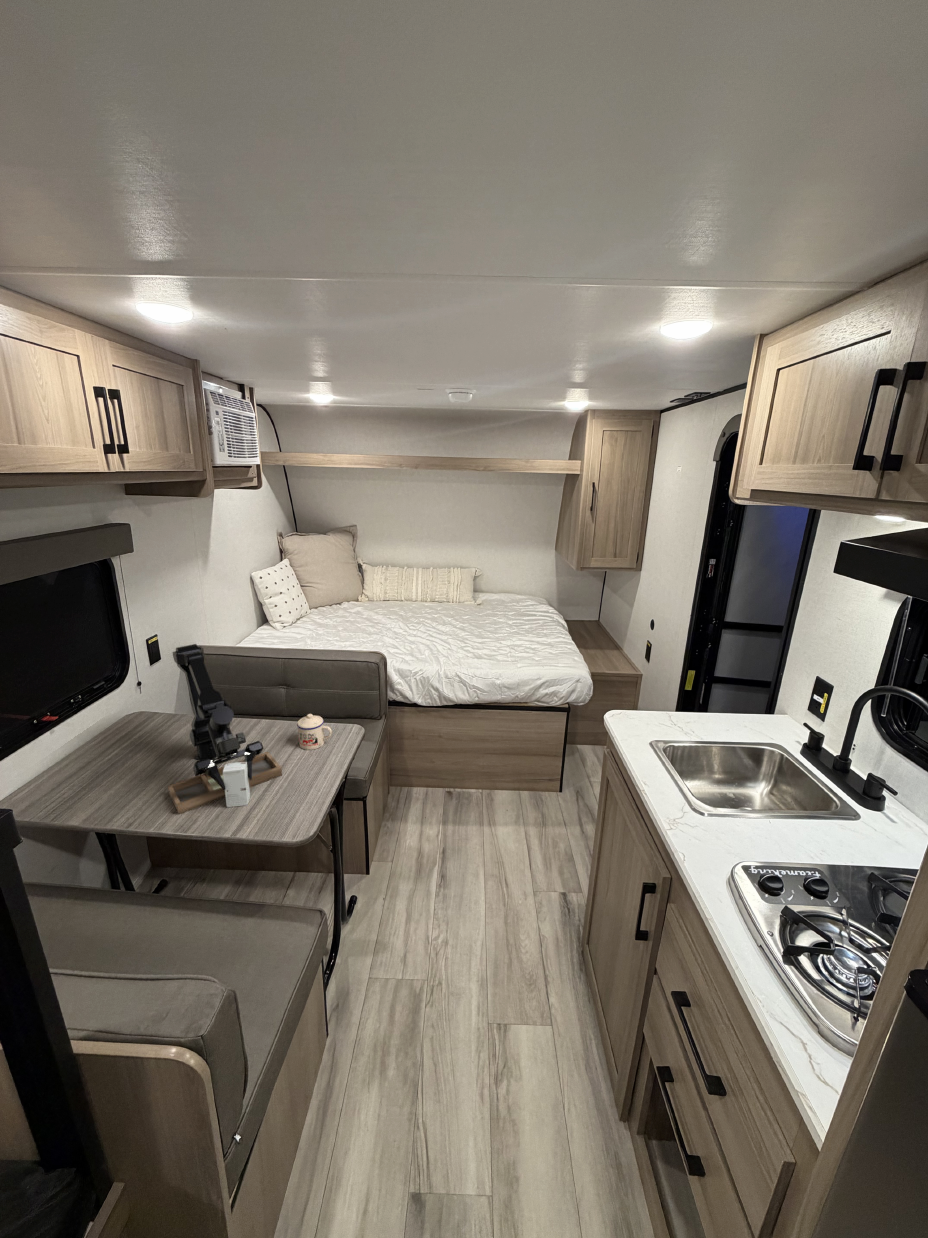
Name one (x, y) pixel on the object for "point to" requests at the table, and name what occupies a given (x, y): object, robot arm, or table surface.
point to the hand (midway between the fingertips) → (238, 784)
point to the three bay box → (208, 790)
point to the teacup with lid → (312, 732)
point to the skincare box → (236, 784)
